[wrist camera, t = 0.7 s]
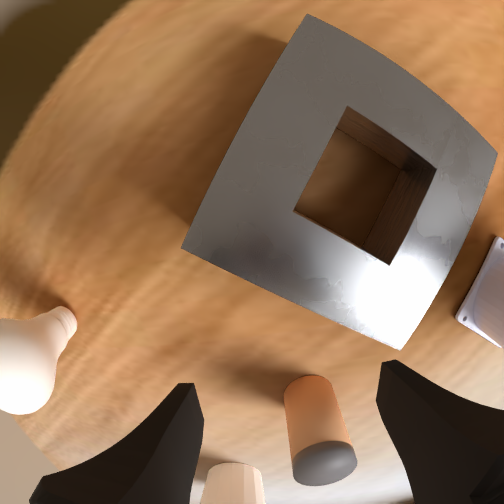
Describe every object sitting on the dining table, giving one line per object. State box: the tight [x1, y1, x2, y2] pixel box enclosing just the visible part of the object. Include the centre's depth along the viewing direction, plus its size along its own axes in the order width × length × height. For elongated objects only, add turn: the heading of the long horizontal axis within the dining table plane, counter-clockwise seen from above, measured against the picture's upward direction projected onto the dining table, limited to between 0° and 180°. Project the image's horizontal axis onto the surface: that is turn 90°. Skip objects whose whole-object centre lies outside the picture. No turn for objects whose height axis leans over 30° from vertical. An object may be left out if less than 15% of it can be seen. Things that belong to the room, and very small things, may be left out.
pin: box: [284, 375, 357, 486], centre depth 18 cm, size 4×4×8 cm
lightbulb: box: [0, 306, 77, 415], centre depth 15 cm, size 6×6×11 cm
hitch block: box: [181, 14, 498, 350], centre depth 16 cm, size 14×14×4 cm
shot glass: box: [200, 462, 266, 504], centre depth 21 cm, size 7×7×7 cm
